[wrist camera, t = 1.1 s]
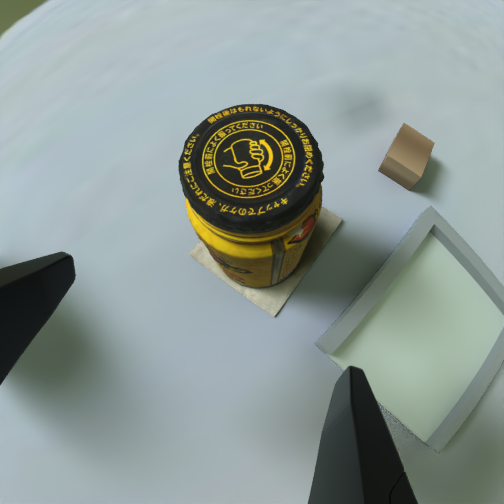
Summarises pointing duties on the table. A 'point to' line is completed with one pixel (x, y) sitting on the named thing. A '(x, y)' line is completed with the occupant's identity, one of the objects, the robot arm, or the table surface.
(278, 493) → the table surface
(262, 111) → the condiment
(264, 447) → the table surface
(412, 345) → the holder
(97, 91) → the table surface
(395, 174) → the tan block
